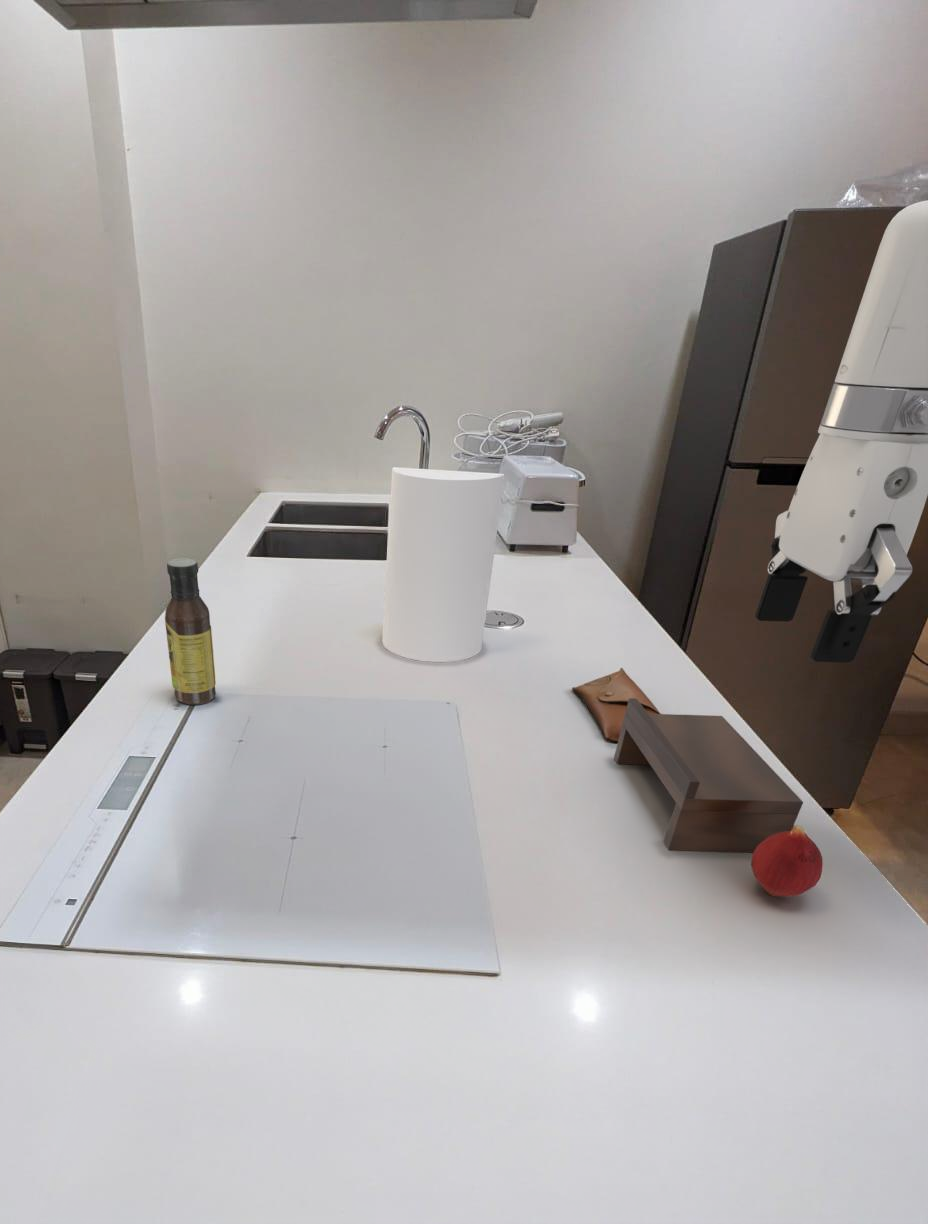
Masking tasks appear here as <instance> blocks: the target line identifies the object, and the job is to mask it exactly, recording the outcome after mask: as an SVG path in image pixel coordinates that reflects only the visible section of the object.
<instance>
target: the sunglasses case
mask: <svg viewBox="0 0 928 1224" xmlns="http://www.w3.org/2000/svg"><path fill="white" fill-rule="evenodd" d="M571 691H573V692H574V693H575V694H576V695H577V696H578V697H579V699H580V700H581V701H582V702H583V704H584V705H585V707H586V708H587V710H588V711H589V712H590V714H591V716H592V718H593V719H594V721H595V722H596V725H597V726H598V727H599V729H600V731H601V733H602V734H603V736H604V738H605V739H606V740H609V741H612V742H617V743H618V740H619V736H620V732H621V728H622V724H623V720H624V716H625V712H626V708H627V704H628V700H629V698H631V699H637V700H638V701H639V702H640V704H641V705H642V706H643V708H644V709H645V710H646V712H647V713H648V714H661V712H660V711H659V710H658V708H657V707H656V705H655V704H654V702H653V701H651V700H650V698H649V697H648V696H647V694H646V693H645V692H644V691H643V690H642V688H640V686H638V685H637V684H636V682H635V681H634V680H633V679H632V678H631V677H630V675H628V674H627V673H626V671H625V670H624V668H622V667H620V668H619V670H618V671H615V672H612V673H609V674H607V675H604V676H602V677H599V678H596V679H594V680H591V681H588V682H586V683H583V684H581V685H577V686H573V687H571Z"/></svg>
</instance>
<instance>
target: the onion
mask: <svg viewBox="0 0 928 1224" xmlns="http://www.w3.org/2000/svg"><path fill="white" fill-rule="evenodd" d="M823 864H824V863H823V855H822V853H821V851H820V849H819V847H818V845H817V844H816V843H815V842H814V841H813V840H812V839H811V838H810V837H809V836H808V835H807V833H806V832H805V830H804V828H803V827H802V826H801V825H797V824H794V826H793V828H792V830H791V831H784V832H780V833H776V834H773V835H771V836H769V837H768V838H766V839H765V840H763V841H762V842H761V843H760V844H759V845H758V846H757V847H756V849H755V850H754V852H752V857H751V861H750V867H751V871H752V873H753V876H754V877H755V879H756V881H757V882H759V884H760V885H761V887H762V888H763V890H765V893H767V894H768V895H769V896H771V897H781V898H786V897H794V896H798V895H802V894H805V893H806V892H807V891H809V890H811V889H812V888H814V887H816V885H817V884H818V882H819V881H820V880H821V877H822V873H823V866H824V865H823Z"/></svg>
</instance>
